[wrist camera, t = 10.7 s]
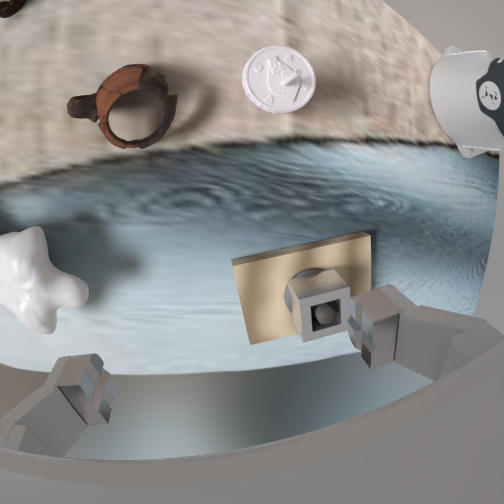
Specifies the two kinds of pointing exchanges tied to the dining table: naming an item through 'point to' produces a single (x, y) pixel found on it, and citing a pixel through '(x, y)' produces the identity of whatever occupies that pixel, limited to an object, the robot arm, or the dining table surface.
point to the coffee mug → (10, 7)
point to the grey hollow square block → (316, 292)
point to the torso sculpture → (35, 281)
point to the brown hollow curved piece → (116, 88)
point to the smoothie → (278, 80)
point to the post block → (292, 266)
